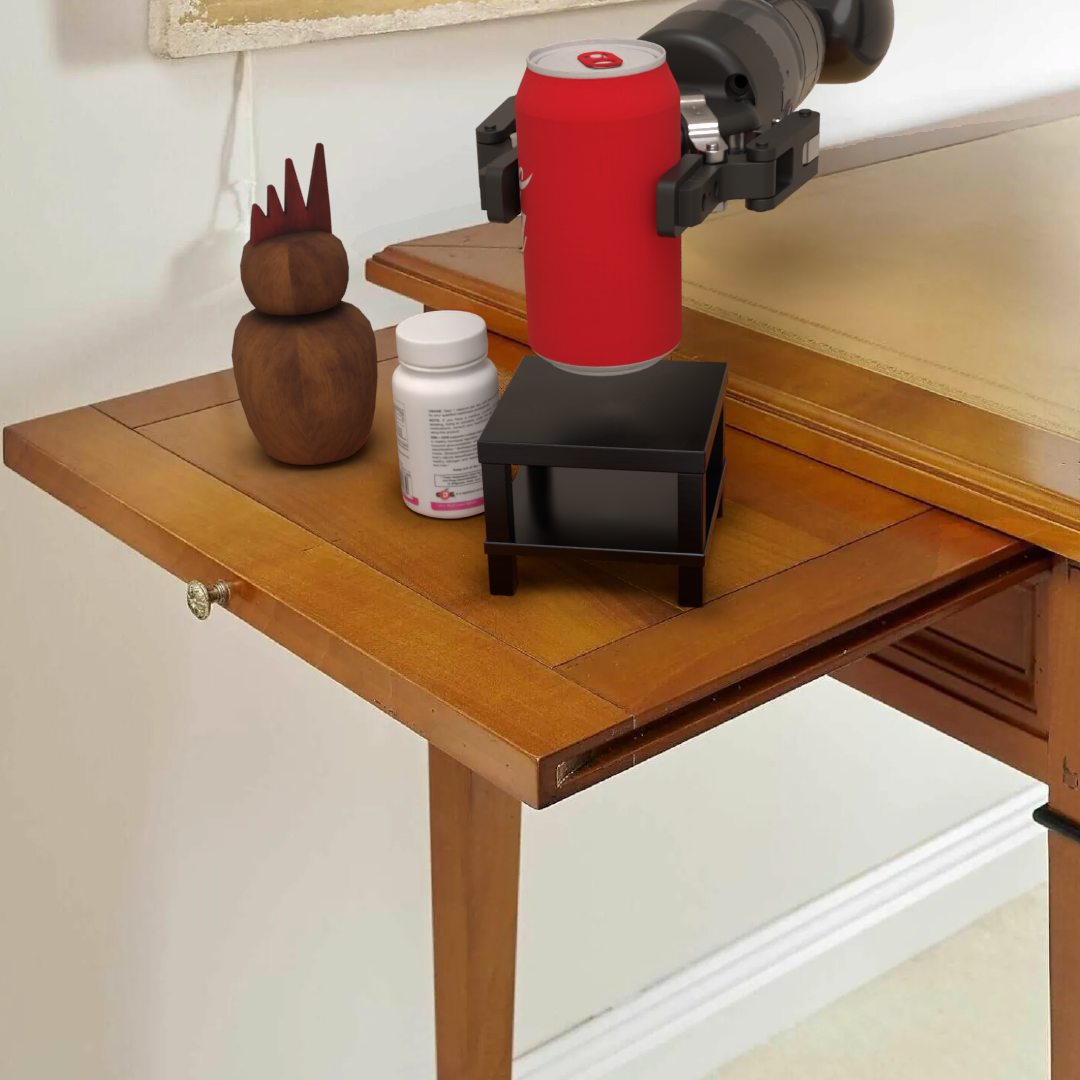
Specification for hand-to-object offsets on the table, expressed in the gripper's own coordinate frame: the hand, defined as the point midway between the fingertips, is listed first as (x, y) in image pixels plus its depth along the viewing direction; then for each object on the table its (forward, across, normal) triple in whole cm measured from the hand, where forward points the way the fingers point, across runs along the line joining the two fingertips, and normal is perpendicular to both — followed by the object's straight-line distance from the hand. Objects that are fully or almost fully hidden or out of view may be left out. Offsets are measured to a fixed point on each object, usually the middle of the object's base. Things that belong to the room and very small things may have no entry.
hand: (579, 204), depth 61 cm
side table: (-2, 0, +16) cm, 16 cm away
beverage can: (-2, 0, +7) cm, 8 cm away
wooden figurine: (-7, -17, +16) cm, 25 cm away
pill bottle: (-5, -8, +16) cm, 19 cm away
